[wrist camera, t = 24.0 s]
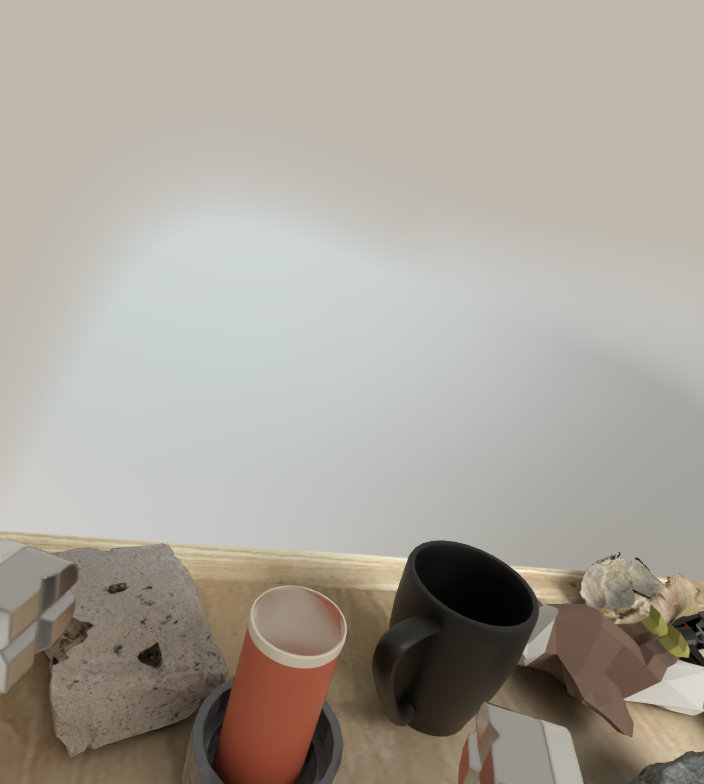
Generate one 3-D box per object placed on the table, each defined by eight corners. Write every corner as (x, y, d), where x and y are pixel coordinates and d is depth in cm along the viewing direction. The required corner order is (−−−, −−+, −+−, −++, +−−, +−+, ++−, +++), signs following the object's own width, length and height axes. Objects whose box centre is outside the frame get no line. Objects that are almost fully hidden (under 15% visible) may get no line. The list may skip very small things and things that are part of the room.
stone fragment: (522, 591, 51) (531, 645, 50) (602, 609, 44) (613, 672, 43) (637, 543, 61) (645, 588, 60) (717, 552, 54) (727, 603, 53)
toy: (759, 861, 31) (822, 774, 29) (484, 737, 34) (524, 650, 32) (676, 667, 46) (714, 600, 44) (490, 593, 49) (517, 527, 47)
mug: (296, 705, 33) (336, 576, 30) (417, 633, 41) (456, 528, 38) (395, 827, 27) (454, 685, 25) (509, 716, 36) (563, 601, 33)
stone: (62, 804, 24) (245, 707, 32) (78, 695, 23) (263, 621, 30) (-19, 633, 33) (140, 588, 40) (-11, 547, 31) (151, 517, 39)
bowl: (353, 794, 28) (371, 746, 27) (243, 908, 23) (260, 853, 22) (263, 695, 33) (276, 650, 32) (151, 770, 27) (162, 718, 26)
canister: (315, 781, 28) (366, 629, 25) (247, 844, 24) (298, 675, 22) (259, 719, 30) (300, 573, 28) (191, 767, 27) (229, 607, 24)
